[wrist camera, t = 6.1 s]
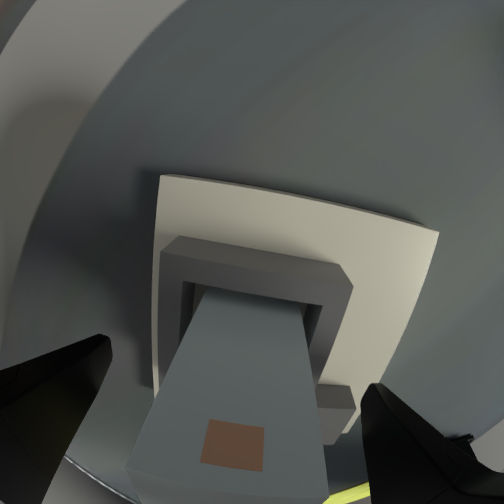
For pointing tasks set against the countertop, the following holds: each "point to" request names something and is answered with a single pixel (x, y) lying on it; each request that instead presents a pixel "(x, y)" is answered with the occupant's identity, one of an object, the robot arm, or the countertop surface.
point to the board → (291, 277)
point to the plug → (234, 411)
